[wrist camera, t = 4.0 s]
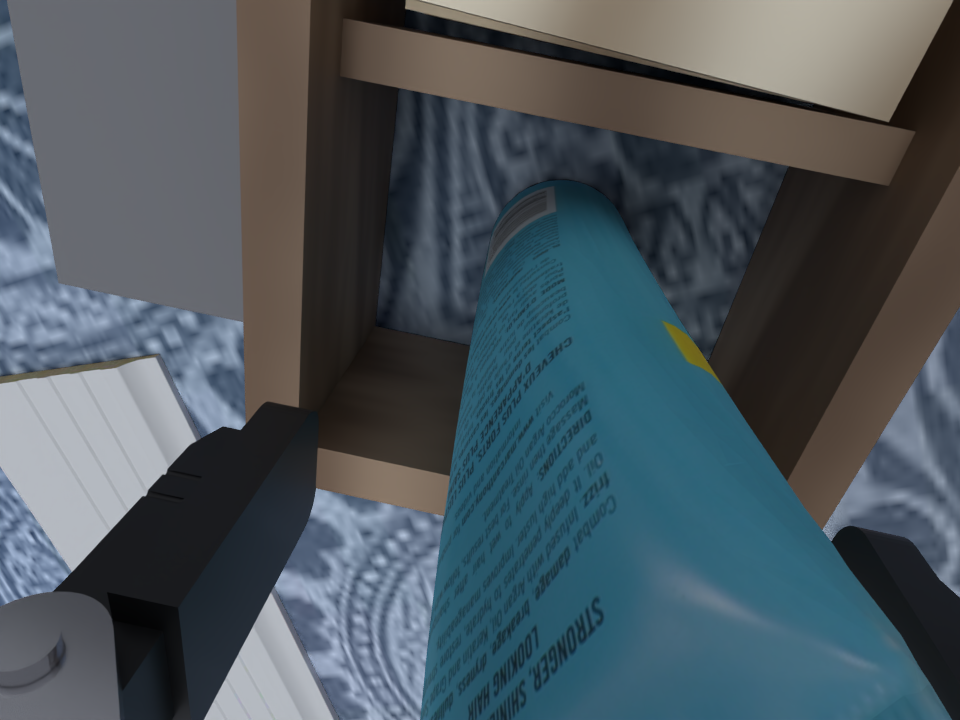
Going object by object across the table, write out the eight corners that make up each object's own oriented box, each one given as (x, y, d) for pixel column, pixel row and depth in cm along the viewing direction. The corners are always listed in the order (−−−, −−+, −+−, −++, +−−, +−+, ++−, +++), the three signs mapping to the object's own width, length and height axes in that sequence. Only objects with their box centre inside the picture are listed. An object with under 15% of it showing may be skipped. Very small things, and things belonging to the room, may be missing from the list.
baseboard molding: (197, 343, 26) (-22, 374, 28) (156, 375, 23) (-81, 406, 26) (385, 760, 39) (225, 756, 42) (373, 809, 37) (203, 802, 39)
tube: (579, 353, 23) (635, 1170, 6) (463, 311, 23) (196, 1043, 6) (669, 168, 20) (1347, 899, 3) (533, 116, 19) (362, 567, 3)
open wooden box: (1014, -223, 15) (1441, -477, 8) (719, 431, 24) (785, 590, 17) (380, -340, 15) (220, -686, 8) (337, 351, 24) (246, 473, 17)
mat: (296, -28, 18) (283, -32, 17) (290, 319, 24) (280, 329, 23) (17, -83, 18) (-10, -90, 18) (76, 274, 24) (58, 282, 23)
